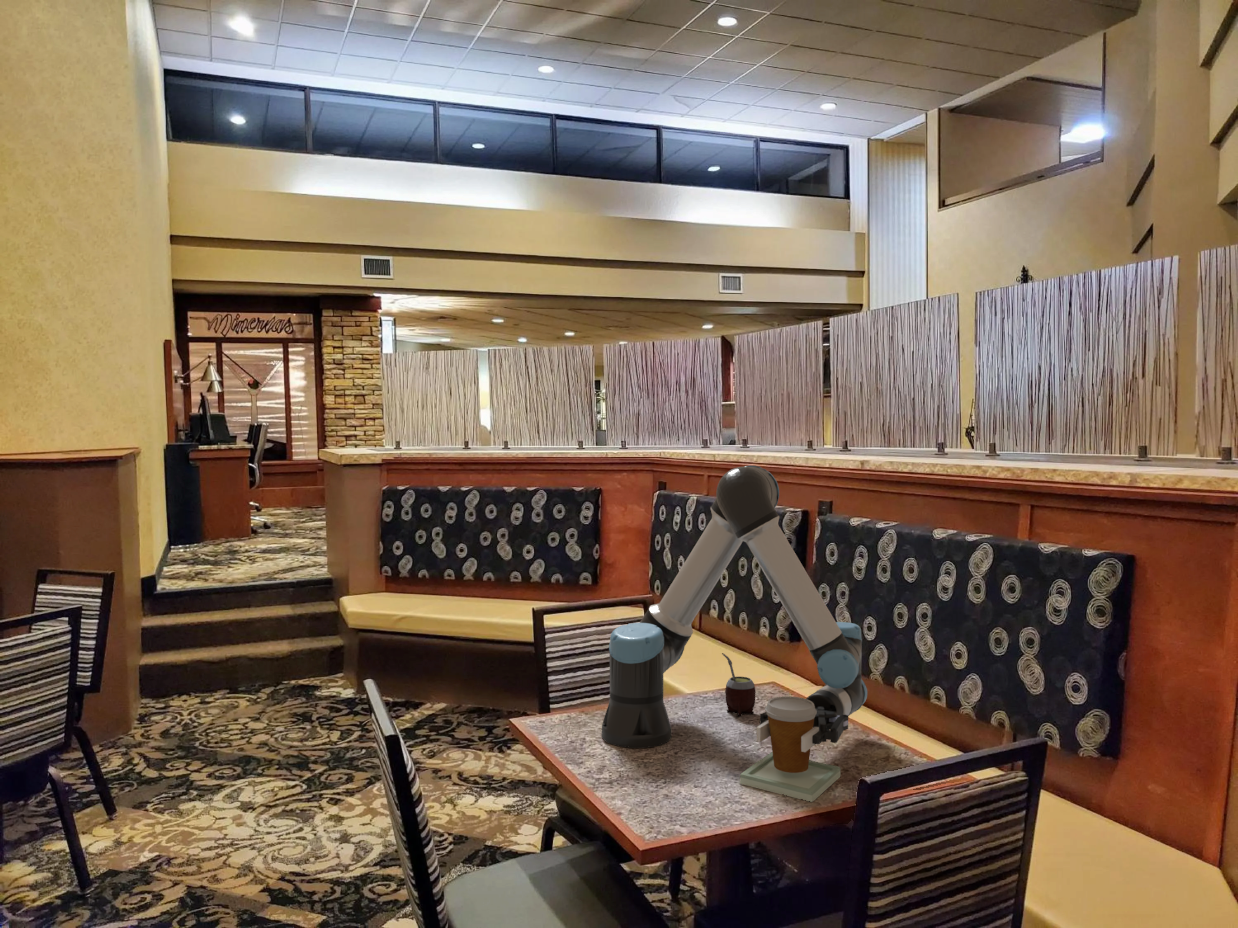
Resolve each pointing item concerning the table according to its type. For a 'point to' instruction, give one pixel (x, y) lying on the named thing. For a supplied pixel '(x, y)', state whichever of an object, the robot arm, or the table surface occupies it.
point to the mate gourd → (739, 693)
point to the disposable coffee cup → (790, 731)
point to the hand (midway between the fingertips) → (780, 739)
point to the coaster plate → (791, 779)
